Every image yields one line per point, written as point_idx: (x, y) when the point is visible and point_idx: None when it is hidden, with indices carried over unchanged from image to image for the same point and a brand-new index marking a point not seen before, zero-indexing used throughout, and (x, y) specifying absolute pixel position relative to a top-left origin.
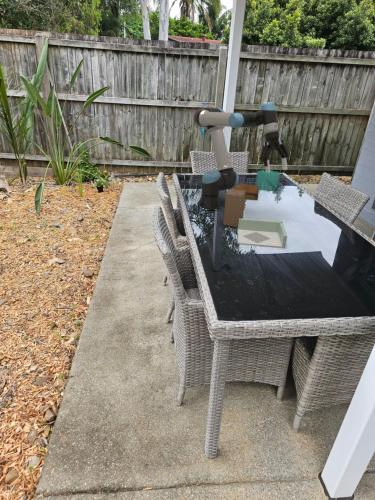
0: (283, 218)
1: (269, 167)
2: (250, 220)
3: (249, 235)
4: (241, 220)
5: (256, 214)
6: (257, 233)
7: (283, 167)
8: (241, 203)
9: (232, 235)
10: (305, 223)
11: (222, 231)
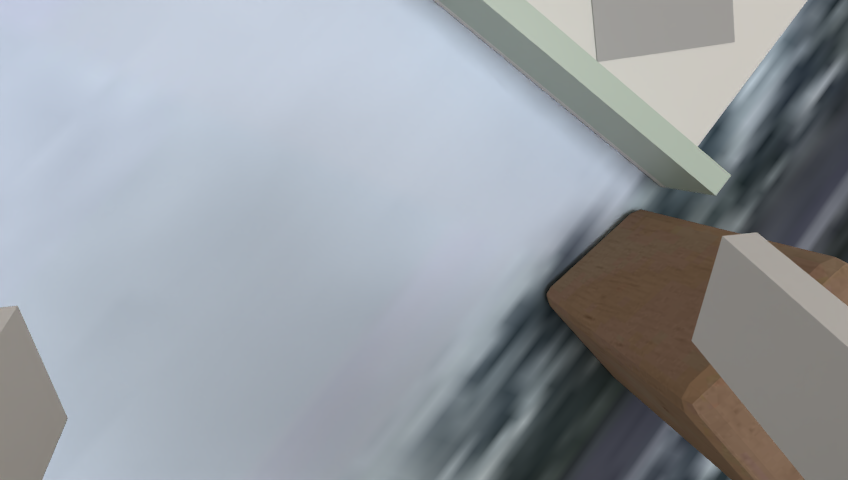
0: (133, 229)
1: (824, 309)
2: (659, 115)
3: (686, 28)
4: (710, 162)
5: (310, 397)
6: (608, 30)
7: (26, 460)
8: (774, 243)
9: (762, 111)
10: (7, 40)
11: (777, 201)
